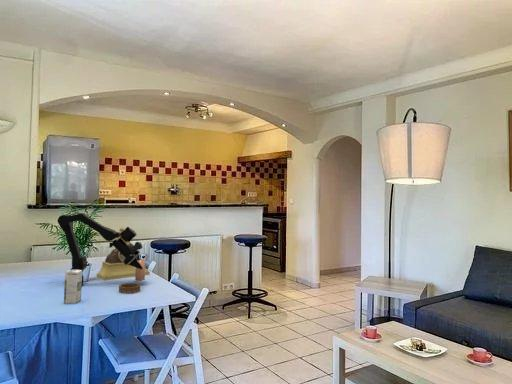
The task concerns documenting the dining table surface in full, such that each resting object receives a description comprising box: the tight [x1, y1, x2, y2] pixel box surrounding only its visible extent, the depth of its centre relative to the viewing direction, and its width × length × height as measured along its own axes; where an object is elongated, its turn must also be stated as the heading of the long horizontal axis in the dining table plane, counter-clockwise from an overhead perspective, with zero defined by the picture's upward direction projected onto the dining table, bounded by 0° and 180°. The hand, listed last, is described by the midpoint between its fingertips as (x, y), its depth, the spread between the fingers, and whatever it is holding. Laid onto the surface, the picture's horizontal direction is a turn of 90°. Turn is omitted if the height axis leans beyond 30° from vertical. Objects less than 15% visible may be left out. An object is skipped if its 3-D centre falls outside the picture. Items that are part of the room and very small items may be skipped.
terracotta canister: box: [134, 258, 146, 282], centre depth 212 cm, size 5×5×11 cm
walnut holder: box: [118, 282, 141, 295], centre depth 198 cm, size 10×10×3 cm
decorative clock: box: [96, 226, 151, 281], centre depth 235 cm, size 28×13×30 cm, turn 131°
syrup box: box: [63, 269, 83, 305], centre depth 177 cm, size 6×6×14 cm
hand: (142, 267), depth 213 cm, fingers closed on terracotta canister, 5 cm apart
